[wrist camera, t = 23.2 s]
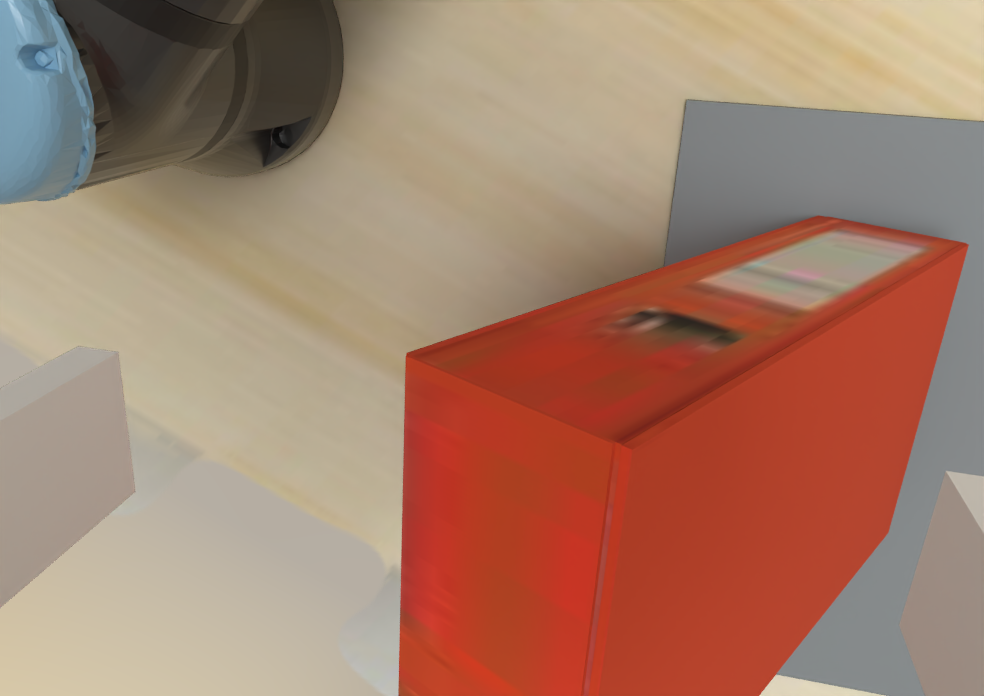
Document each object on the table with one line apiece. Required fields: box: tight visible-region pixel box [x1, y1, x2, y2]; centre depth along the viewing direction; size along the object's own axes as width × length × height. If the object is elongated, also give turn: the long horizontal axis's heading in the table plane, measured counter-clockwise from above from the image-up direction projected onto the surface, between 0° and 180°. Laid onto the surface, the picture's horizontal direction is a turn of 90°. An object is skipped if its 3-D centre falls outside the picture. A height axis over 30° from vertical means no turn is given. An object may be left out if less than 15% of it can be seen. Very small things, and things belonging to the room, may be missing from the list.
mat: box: [664, 100, 984, 696], centre depth 51 cm, size 24×38×1 cm, turn 176°
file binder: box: [399, 215, 969, 696], centre depth 36 cm, size 8×17×32 cm
